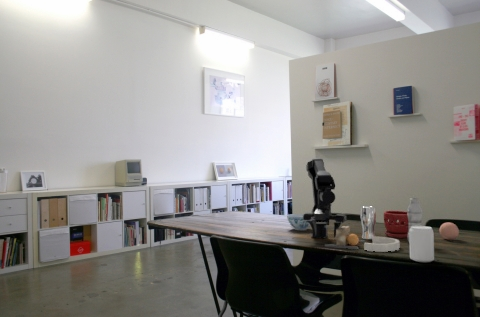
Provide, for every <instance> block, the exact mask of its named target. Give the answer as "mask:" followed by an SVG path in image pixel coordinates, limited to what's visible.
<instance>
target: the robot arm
mask: <svg viewBox="0 0 480 317" xmlns="http://www.w3.org/2000/svg"><path fill="white" fill-rule="evenodd" d="M305 168H306V169H305V170H306V172H307V176H308V177H309V178H310V179H311V187H312V195H313V207H312V210H311V212H306V213H303V214H304V215H303V220H307V221H306V222H309V224H310V227H311V231H312V232H311V233H312V235H311V236H310V237H311V239H312V238H313V239H326V238H328V237H329V236H328V227H327V226H329V225H330V220H332V221H334V222H333V226H334V227H333V228H334V229H333V237H334V238H336V230H337V229H339V228H341V225H342V224H343V223H345V222H347V220H348V217H347V214H340V213H337V214H335V215H333V214H332V204H333V203H334V202H335V201H336V195H335V193H334V192H333V191H332V190H335V188H336V184H335V179H334V178H333V176H332V174H331V173H330V172H329V171H327V170H326V168H325V162H324V160H323V158H312V160H310V161H308V162H307V163H306V166H305Z"/></svg>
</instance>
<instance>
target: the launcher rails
mask: <svg viewBox="0 0 480 317" xmlns="http://www.w3.org/2000/svg"><path fill="white" fill-rule="evenodd" d="M333 239H334V240H333V242H336V237H334V238H333ZM359 243H360V244H364V243H367V242H366V240H365V239H361V240H360V239H359V242H358V243H357V244H359ZM324 247H325V248H335V249H336V248H338V249H346V248H348V249H349V250H357V249H358V250H359V247H358V246H356V245H345V246H344V245H337V244H330V243H329V244H328V243H324ZM348 249H347V250H348Z"/></svg>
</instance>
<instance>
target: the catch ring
mask: <svg viewBox="0 0 480 317" xmlns="http://www.w3.org/2000/svg"><path fill="white" fill-rule="evenodd" d="M371 240H372V242H371V243H369V242H366V243H363V248H364V249H363V250H367V252H373V251H375V252H376V253H383V252H384V253H386V252H388V251H391V252H395V250H397V251H399V250H400V249H401V247H400V246H401V245H400V244H401V242H400V240H399V239H398V238H394V237H389V236H376V235H375V236H372V239H371ZM399 248H400V249H399ZM388 253H389V252H388Z"/></svg>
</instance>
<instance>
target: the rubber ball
mask: <svg viewBox="0 0 480 317" xmlns="http://www.w3.org/2000/svg"><path fill="white" fill-rule="evenodd" d="M359 240H360V239H359V237H358V235H357V234H355V233H350V235H348V237H347V242H348V244H349V246H356V245H357V244H359V243H358V242H359Z"/></svg>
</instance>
